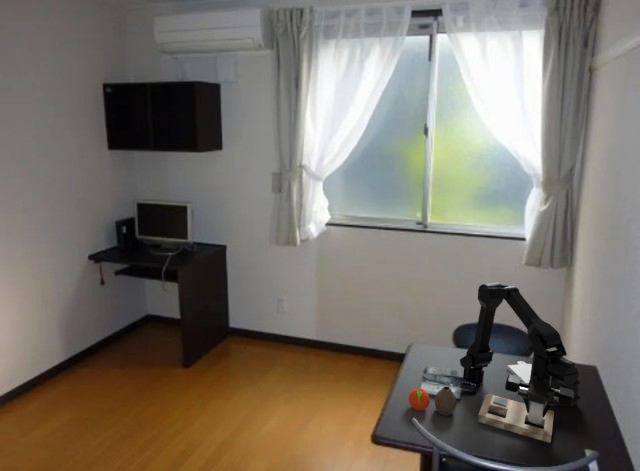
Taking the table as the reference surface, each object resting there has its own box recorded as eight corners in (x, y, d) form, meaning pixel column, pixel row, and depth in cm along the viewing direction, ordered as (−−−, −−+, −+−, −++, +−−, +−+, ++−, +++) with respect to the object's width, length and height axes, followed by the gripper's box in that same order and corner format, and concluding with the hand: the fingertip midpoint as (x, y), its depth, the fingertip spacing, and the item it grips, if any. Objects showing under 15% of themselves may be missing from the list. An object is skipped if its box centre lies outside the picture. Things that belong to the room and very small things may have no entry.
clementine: (428, 418, 153) (430, 398, 152) (406, 414, 155) (408, 395, 153) (429, 404, 161) (430, 385, 159) (408, 401, 162) (409, 382, 161)
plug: (525, 421, 147) (528, 397, 145) (527, 413, 151) (530, 390, 149) (542, 426, 145) (546, 402, 143) (543, 418, 149) (547, 394, 147)
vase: (456, 408, 159) (458, 384, 157) (454, 420, 152) (457, 395, 150) (435, 404, 161) (437, 380, 159) (432, 415, 155) (434, 391, 153)
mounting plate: (503, 366, 187) (504, 362, 187) (534, 364, 189) (535, 360, 189) (529, 391, 170) (529, 386, 170) (562, 389, 172) (563, 384, 171)
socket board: (477, 421, 152) (478, 413, 151) (485, 399, 164) (486, 392, 163) (550, 443, 142) (551, 434, 141) (553, 418, 154) (554, 410, 153)
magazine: (588, 401, 161) (575, 365, 157) (551, 417, 162) (537, 381, 158) (582, 395, 164) (569, 360, 161) (546, 410, 165) (532, 375, 162)
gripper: (505, 372, 141) (499, 419, 145) (576, 390, 133) (568, 438, 136) (510, 357, 151) (505, 400, 155) (576, 372, 142) (569, 418, 146)
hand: (535, 414), depth 148 cm, fingers closed on plug, 4 cm apart
